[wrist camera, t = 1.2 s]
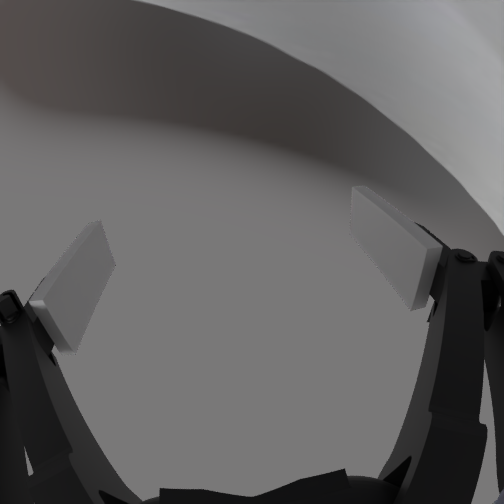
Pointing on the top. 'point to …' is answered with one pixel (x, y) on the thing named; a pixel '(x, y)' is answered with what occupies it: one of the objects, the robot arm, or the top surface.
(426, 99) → the top surface
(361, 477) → the robot arm
